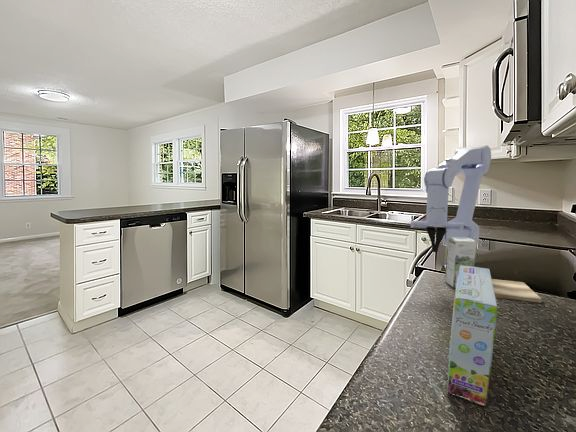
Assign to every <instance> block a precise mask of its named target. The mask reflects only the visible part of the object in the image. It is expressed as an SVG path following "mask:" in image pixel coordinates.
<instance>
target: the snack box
mask: <svg viewBox="0 0 576 432" xmlns="http://www.w3.org/2000/svg"><path fill="white" fill-rule="evenodd" d="M492 279H493V278H492V276H491V271H490V268H485V267H479V266H474V267H473V266H463V265H460V267H459V272H458V278H457V284H456V288H455V293H454V298H453V308H452V319H451V328H450V341H449V355H448V374H447V377H448V378H447V389H446V394H447V393H451V394H455V395H459V396H463V397H466V398H469V399H471V400H474V401H478V402H481V403H484V404H486V403H487V404H488V396H489V387H490V386H489V385H490V380H491V379H490V377H491V369H492V362H493V354H494V353H493V352H494V343H495V333H496V326H497V315H498V304H497V299H496V298H497V297H495V293H494V289H493V284H492Z"/></svg>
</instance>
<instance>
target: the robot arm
mask: <svg viewBox="0 0 576 432" xmlns="http://www.w3.org/2000/svg"><path fill="white" fill-rule="evenodd" d="M491 159H492V149H491V147H490V146H489V145H484V146H483V145H481V146H473V147H472V146H470V147H458V148H457V149H456V150H455V152H454V156H453V157H448V158H447V157H446V158H445V159H444V161H443V162H442V163H440V164H438V166H436V167H435V168H431V169H428V170H427V171H426V172H425V175H424V177H423V183H424V187H425V193H426V194H427V195H426V213H425V214H426V215H425V217H426V218H425V220H411V221H410V228H411V229H412V228H420V229H421V228H422V229H425V230H426V233H427V234H428V238H429V240H430V245H431V251H432V253H438V252H439V251H438V250H439V247H440V244H441V242H442V240H443V241H444V243H445V244H446V246H447V241H448V237H450V238H470V239H472V240H474V241H476V246H478V243H479V241H480V240H479V239H480V226H479V225H478V224H477V223H476V222H475V221H474V220H473V216H474V214H475V213H474V212H475V210H476V209H475V208H476V203H477V199H478V195H479V190H480V186H481V183H482V182H481V181H482V178H483V175H484V174H486V173H488V172H489V169H490V165H491V161H492V160H491ZM458 174H461V175H464V177H465V178H464V182H463V185H462V190H461V195H460V199H459V202H458V207H457V211H456V215H455V217H454V218H452V219H451V220H449V221H448V209H449V208H448V207H449V206H448V204H449V189H450V187H452V185H453V182H454V180H455V178H456V176H457V175H458ZM444 268H445V270H446V264H444Z"/></svg>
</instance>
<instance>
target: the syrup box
mask: <svg viewBox="0 0 576 432" xmlns="http://www.w3.org/2000/svg"><path fill="white" fill-rule="evenodd" d="M476 251H477V245H476V241H474V240H472V239H470V238H450V237H448V241H447V245H446V256H445V257H446V258H445V265H446V269H445V272H444V282H445V283H446V284H448V285H449V286H451V287H452V288H455V289H456V284H457V278H458V272H459V267H460V265H463V266H473V267H475V262H476Z"/></svg>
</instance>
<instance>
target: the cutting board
mask: <svg viewBox="0 0 576 432" xmlns="http://www.w3.org/2000/svg"><path fill="white" fill-rule="evenodd" d="M491 279H492V284H493V289H494V293H495V298H499V299H500V298H501V299H508V300H509V299H510V300H514V301H515V300H517V301H523V302H530V303H531V302H532V303H533V302H534V303H543V298H542V297H540V296H539V295H538V294H537V293H536V292H535V291H534V290H533V289H531V288H530V286H528V285H527V284H526V282H523V281H515V280H506V279H504V280H503V279H495V278H491Z"/></svg>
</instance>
